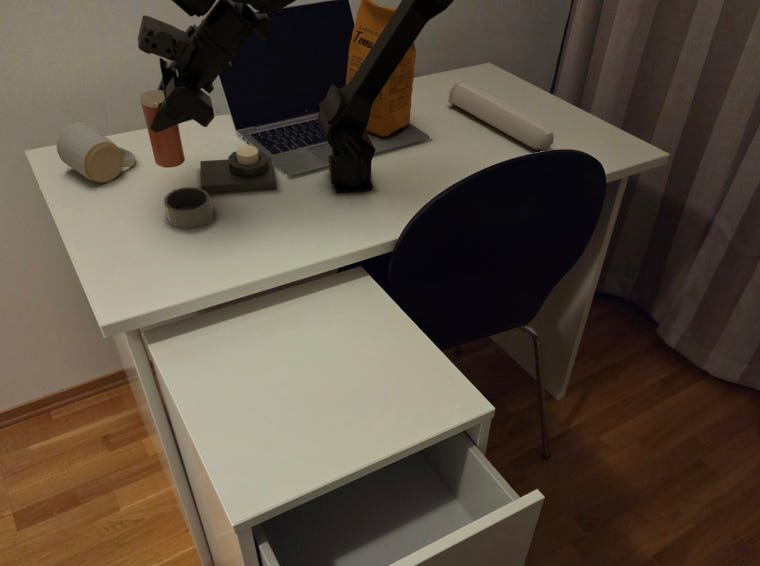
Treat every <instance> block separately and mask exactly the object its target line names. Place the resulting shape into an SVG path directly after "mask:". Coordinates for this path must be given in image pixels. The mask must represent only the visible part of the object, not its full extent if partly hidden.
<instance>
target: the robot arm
mask: <svg viewBox="0 0 760 566" xmlns="http://www.w3.org/2000/svg"><path fill="white" fill-rule="evenodd" d="M170 1H171V2H173V3H174V4H175V5H176V6H177V7H178V8H179V9H181V10H182V11H183V12H184V13H185V14H187V15H188V16H189V17H194V16H196V17H197V18H200V17H203V16H205V17H204V18H203V20H202V21H201V22H200V23H199V25H196V24H192V25H191V24H190V25H189V26H188V28H186V30H182V29H180V28H178V27H176V26H174V25H172V24H170V23H167V22H164V21H162V20H159V19H158V18H154V17H152V16H149V15H143V16H142V18H141V22H140V27H139V31H138V35H137V48H138V49H139V50H140V51H141V52H143V53H145V54H148V55H151V54H152V55H155V56H158V57H159V60H158V61H159V68H160V73H161V79H160V81H159V85H158V86H157V89H156V90H163V92H164V96H165V99H164V101H163V102H162V104H161V106H160V108H159V110H158V112H157V113H156V115H155V117H154V119H153V121H152V123H151V125H150V129H151V130H152V131H154V132H156V133H157V132H159V131H162V130H165V129H167V128H170V127H172V126H175V125H177V124H178V125H180V124H182V123H186V122H188V121H192V120H193V121H195V122H196V123H197V124H198V125H200V126H201V127H203V128H207V127H208V126H209V125H210V124H211V122H212V121H214V118H215V114H214V106H213V103H212V102H213V101H212V98H211V96H209V95H211V93H212V92H213V91H214V90H215V87H214V82H215V81H216V80H217V78H218V77H219V76H220V74H222V72H223V71H226V72H227V73H228V72H229V71H230V70H231V69H232V67H233V64H232V62H231V61H232V60H233V58H234V57H235V56H236V54H237V53H238V52H239V51H240V50H241V49H242V48H243V46H244V45H245V43H246V42H247V41H249V38H250V37H251V36H252V35H253V34H254V33H255V32H256V34H258V35H259V36H260V38H262V39H263V40H264V41H266V42H268V41H269V40H270V39H271V37H270V32H269V24H270V19H269V17H268V15H270V14H275V13H276V12H279V11H280V10H283V9H284V8H286V7H287V6H289V5H292V3H294V2H296V1H297V0H170ZM454 1H455V0H401V1H400V3H399V4H398V6H397V7H396V10H395V12H394V14H393V15H392V17H391V18H390V20H389V21H388V23H387V25H386V26H385V28H384V29H383V31H382V32H381V34H380V36H379V37H378V39H377V40H376V42H375V44H374V45H373V47H372V48H371V50H370V51H369V53H368V55H367V56H366V58H365V59H364V61H363V62H362V64H361V66H360V67H359V69H358V70H357V72H356V73H355V75H354V77H353V78H352V80H351V81H350V82H349V83H348V84H347V85H346V84H345V85H344V86H342V87H341V88H338V87H336V85H334V84H331V86H330V87H329V89H328V91H327V94H326V96H325V98H324V99H323V100H322V101H321V102H319V103H318V107H319V112H318V116H317V118H318V123H319V126H320V127H321V130H322V132H323V134H324V137H325V140H326V141H327V143H328V145H329V146H330V147H331V154H329V155H328V178H329V181H330V184H331V185H333V188H334V191H335V193H336V194H343V193H357V192H370V191H373V190H374V185H373V183H372V162H373V161H372V160H373V159H374V156H375V153H376V148H375V146H374V144H373V142H372V140H371V138H370V136H369V135H368V132H366V131H365V130H366V128H367V126H368V123H369V118H370V114H371V110H372V106H373V103H374V101H375V100H376V98H377V97H378V95H379V94H380V92H381V91H382V89H383V88H384V86H385V85H386V83H387V82H388V80H389V79H390V77H391V76H392V74H393V73H394V71H395V70H396V68H397V67H398V65H399V64H400V62H401V61H402V59H403V58H404V56H405V55H406V53H407V52H408V50H409V49H410V47H411V46H412V44H413V43H414V44H415V41H416V40H417V38H418V37H419V35H420V34H421V32H422V31H423V30H424V28H425V26H426V25H427V24H428V22H430V21H431V20H433V19H434V18H435V17H437V16H439V15H440V14H442V13H443V12H444V11H446V10H447V9H448V8H449V7H450V6H451V5H452V4H453V3H454ZM254 10H256V11H257V12H256V11H254ZM258 12H259V13H258ZM202 89H203V90H204V91H205V92H204V91H203V90H202ZM206 92H207V93H208V94H209V95H208V94H207V93H206Z"/></svg>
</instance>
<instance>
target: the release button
mask: <svg viewBox="0 0 760 566" xmlns="http://www.w3.org/2000/svg"><path fill="white" fill-rule="evenodd" d="M258 150H259V149H258V148H257V147H255V146H252V145H242V146H240V147H239V146H238V148H237V149H236V150H235V151H236V155H237V161H238V163H239V164H242V165H253V164H256V163H258V162H259V155H258Z"/></svg>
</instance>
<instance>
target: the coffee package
mask: <svg viewBox="0 0 760 566" xmlns="http://www.w3.org/2000/svg"><path fill="white" fill-rule="evenodd" d="M396 9H397V7H396V8H394V7H388V6H381V5H379V4H378V3H377V2H376V1H375V0H360V5H359V7H358V9H357V12H356V13H357V14H356V18H355V23H354V27H353V30H352V35H351V38H350V39H351V40H350V43H349V49H348V59H347V66H346V67H347V68H346V79H345V85H347V84H348V83H349V82H350V81H351V80H352V78H353V77H354V75H355V73H356V72H357V70H358V69H359V67H360V66H361V64H362V62H363V61H364V59H365V58H366V56H367V55H368V53H369V51H370V50H371V48H372V47H373V45H374V44H375V42H376V40H377V39H378V37H379V36H380V34H381V32H382V31H383V29H384V28H385V26H386V25H387V23H388V21H389V20H390V18H391V17H392V15H393V14H394V12H395V10H396ZM416 57H417V49H416V45H415V42H414V43H413V44H412V46H411V47H410V49H409V50H408V52H407V53H406V55H405V56H404V58H403V59H402V61H401V62H400V64H399V65H398V67H397V68H396V70H395V71H394V73H393V74H392V76H391V77H390V79H389V80H388V82H387V83H386V85H385V86H384V88H383V89H382V91H381V92H380V94H379V95H378V97H377V98H376V100H375V101H374V103H373V106H372V110H371V114H370V118H369V123H368V126H367V128H366V130H365V131H366V133H369V134H373V135H375V136H379V137H382V138H385V137H389V135H391V134H393V133H395V132H397V131H398V130H399V129H401V128H406V127H407V125H409V124H410V123H411V111H412V95H413V89H414V87H413V86H414V85H413V84H414V81H415V80H414V79H415V64H416V59H417V58H416Z"/></svg>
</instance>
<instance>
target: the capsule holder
mask: <svg viewBox="0 0 760 566" xmlns="http://www.w3.org/2000/svg"><path fill="white" fill-rule="evenodd" d="M163 206H164V209H165V214H166V217H167V221H168V222H169V223H170V225H172V226H173V227H174V228H177V229H181V230H194V229H199V228H203V227H204V226H206V225H208V224H209V223H210V222H211V221H212V219H213V217H214V213H213V212H214V211H213V207H212V200H211V194H208V193H207V192H206V191H205V190H202V188H200V187H194V186H185V187H179V188H176V189H173V190H171V191H170V192H168V193H167V194H166V195H165V197H164V198H163Z"/></svg>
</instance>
